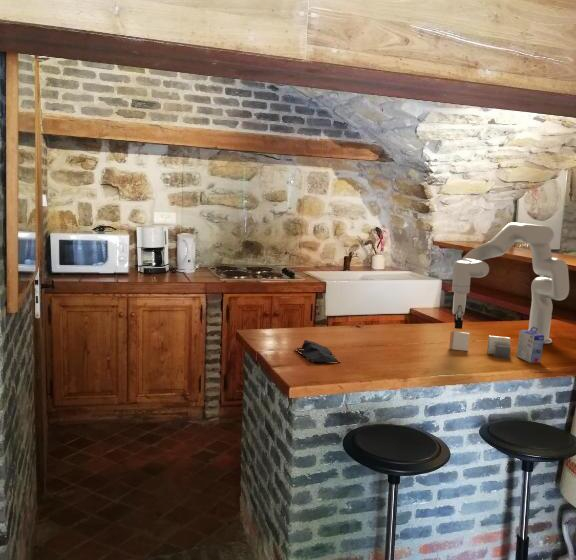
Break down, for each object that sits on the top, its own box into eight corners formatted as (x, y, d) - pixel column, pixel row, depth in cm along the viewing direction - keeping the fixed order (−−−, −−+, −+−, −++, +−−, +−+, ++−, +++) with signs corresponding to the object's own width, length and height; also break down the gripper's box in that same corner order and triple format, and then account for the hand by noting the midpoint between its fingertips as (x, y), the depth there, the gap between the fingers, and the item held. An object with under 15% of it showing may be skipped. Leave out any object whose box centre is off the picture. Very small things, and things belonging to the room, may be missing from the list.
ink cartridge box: (541, 363, 243) (545, 330, 240) (530, 363, 241) (534, 330, 239) (526, 355, 252) (530, 324, 250) (515, 356, 251) (519, 324, 248)
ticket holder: (486, 349, 259) (488, 333, 257) (507, 352, 256) (509, 335, 255) (487, 356, 249) (489, 338, 248) (509, 358, 247) (511, 340, 245)
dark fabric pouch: (307, 366, 227) (307, 355, 226) (293, 350, 248) (293, 339, 247) (343, 364, 230) (343, 353, 230) (326, 348, 251) (327, 338, 251)
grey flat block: (449, 347, 259) (450, 330, 257) (467, 349, 257) (469, 332, 255) (449, 348, 257) (450, 331, 256) (467, 350, 255) (469, 333, 254)
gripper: (451, 284, 262) (449, 320, 265) (452, 291, 245) (449, 330, 248) (468, 285, 260) (466, 321, 263) (470, 293, 243) (467, 331, 246)
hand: (458, 325), depth 256 cm, fingers open, 9 cm apart
